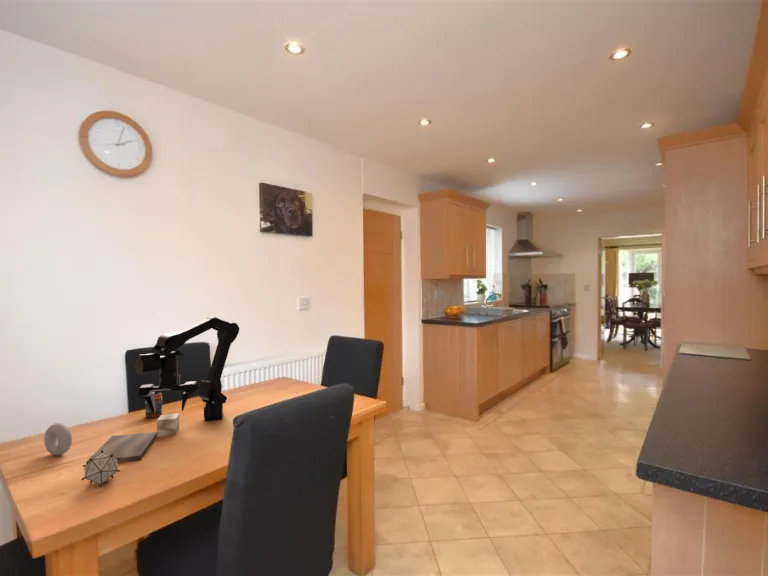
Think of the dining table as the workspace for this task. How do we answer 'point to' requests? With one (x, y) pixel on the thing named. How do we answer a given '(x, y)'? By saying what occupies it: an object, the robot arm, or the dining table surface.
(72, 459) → the dining table surface
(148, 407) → the supplement bottle
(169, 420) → the maple cube
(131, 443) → the walnut board
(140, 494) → the dining table surface
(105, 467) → the game die
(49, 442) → the donut
